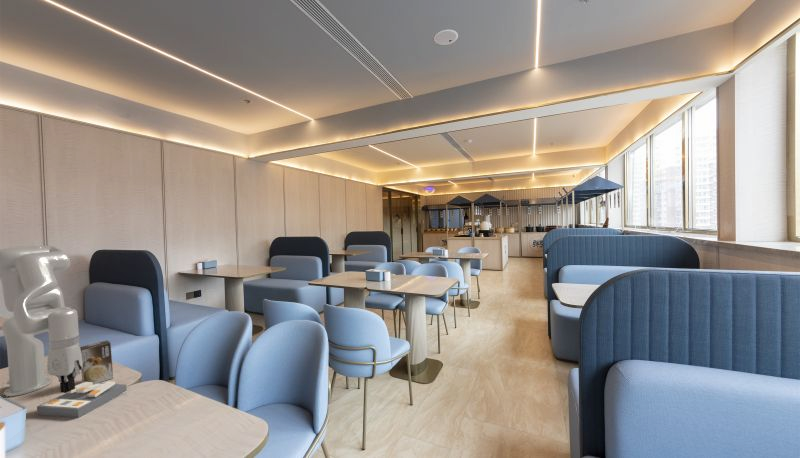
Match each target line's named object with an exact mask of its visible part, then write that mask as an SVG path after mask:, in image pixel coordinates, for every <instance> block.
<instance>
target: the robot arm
mask: <svg viewBox="0 0 800 458" xmlns="http://www.w3.org/2000/svg"><path fill="white" fill-rule="evenodd" d="M70 267H71V258H70V256H69V255H68V253H67V252H66V251H64V250H62V249H61V248H58V247H57V246H54V245H37V246H20V247H19V246H18V247H7V248H2V249H0V282H1V287H2V295H3V301H4V302H3V303H4V307H5V309H6V310H7V311H8V312H10V313H12V314H13V316H12V317H11V316H10V317H9V318H7V319H6V320H4V322H3V323H2V325H1V330H2V334H3V336H4V340H5V343H6V349H7V350H6V351H7V364H8V365H7V367H8V368H7V369H8V381H7V382H6V385H9V387H8V388H7V389H6V390H5V391H3V396H4V395H6V396H5V397H8V396H9V397H17V396H21V395H26V394H29V393H33V392H35V391H38V390H40V389H43V388H45V387H47V386H48V385H50V384H51V383H52V378H49V377H46V364H45V362H46V361H45V346H44V342H43V341H42V340H40V339H38V338H37V337H35V336H37V335H39V334H43V333H48V344H49V347H48V348H49V349H48V353H47V374H48V375H49V376H55V377H57V379H58V383H59V385H60V386H59V387H60V393H61V394H65V393H66V392H69V391H71V390H73V389H75V386H76V382H75V379H76V377H77V376H79V375H81V369H82V367H83V361H82V354H81V349H80V347H81V346H80V332H79V331H80V330H79V318H78V311H77V309H73V308H71V307H69V306H66V305H65V300H64V293H63V291H62V289H61V288H60V286H58V284H59V283H58V280H57V279H56V276H55V273H54V272H60V271H65V270H68V269H69V268H70ZM41 308H46V309H44V310H40V311H33V312H29V311H31V310H37V309H41Z"/></svg>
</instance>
